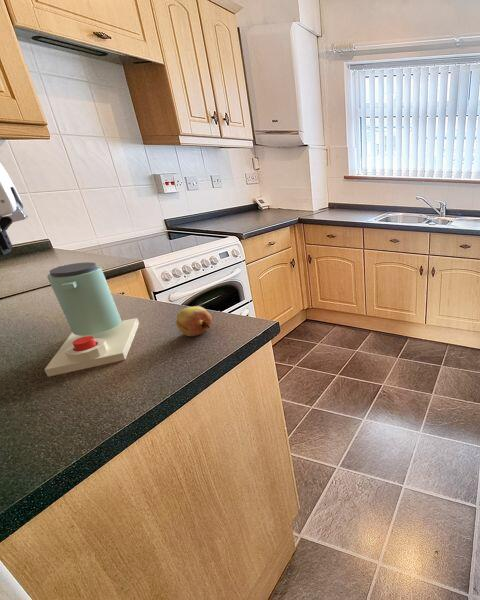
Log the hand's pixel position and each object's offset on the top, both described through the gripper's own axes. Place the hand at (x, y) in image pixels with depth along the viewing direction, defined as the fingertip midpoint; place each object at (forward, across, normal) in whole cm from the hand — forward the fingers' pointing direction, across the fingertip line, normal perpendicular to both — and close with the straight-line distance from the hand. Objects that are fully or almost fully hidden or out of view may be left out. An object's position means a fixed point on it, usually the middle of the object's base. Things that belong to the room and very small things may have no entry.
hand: (1, 253), depth 63 cm
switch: (+18, +9, -8) cm, 22 cm away
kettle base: (+22, +9, -2) cm, 24 cm away
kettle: (+18, +9, +1) cm, 20 cm away
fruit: (+21, +28, -5) cm, 36 cm away
